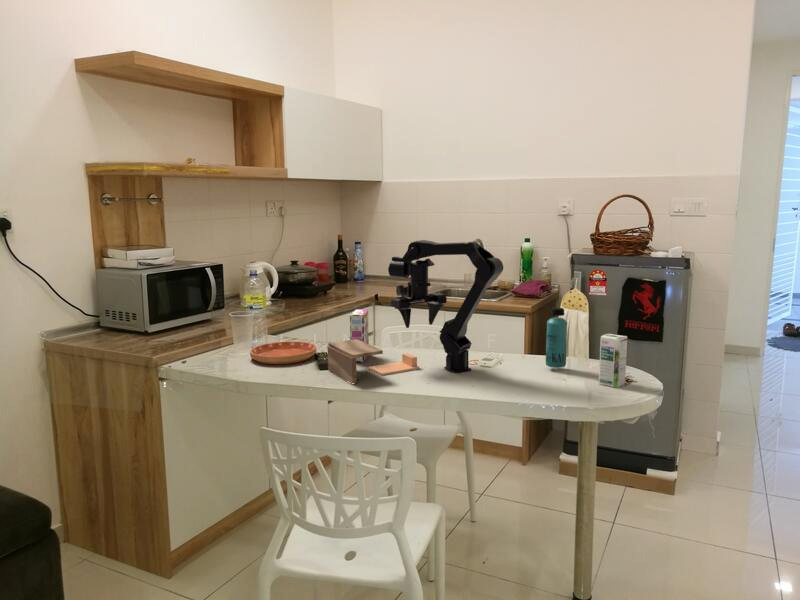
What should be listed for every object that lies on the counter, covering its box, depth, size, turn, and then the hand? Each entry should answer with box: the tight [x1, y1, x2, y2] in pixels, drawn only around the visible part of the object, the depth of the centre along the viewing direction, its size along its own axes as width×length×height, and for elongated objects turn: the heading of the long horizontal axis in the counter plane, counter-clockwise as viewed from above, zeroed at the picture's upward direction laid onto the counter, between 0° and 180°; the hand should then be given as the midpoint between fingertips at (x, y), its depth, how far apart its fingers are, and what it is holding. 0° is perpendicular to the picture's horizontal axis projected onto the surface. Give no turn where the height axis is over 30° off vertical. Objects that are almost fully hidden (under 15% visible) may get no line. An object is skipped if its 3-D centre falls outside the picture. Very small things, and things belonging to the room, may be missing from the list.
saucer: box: [249, 340, 317, 365], centre depth 219 cm, size 23×23×4 cm
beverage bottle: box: [544, 307, 568, 369], centre depth 197 cm, size 6×7×20 cm
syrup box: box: [598, 333, 628, 389], centre depth 182 cm, size 6×6×14 cm
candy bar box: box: [349, 309, 370, 363], centre depth 215 cm, size 11×5×16 cm, turn 174°
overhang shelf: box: [326, 339, 384, 384], centre depth 196 cm, size 10×18×9 cm, turn 30°
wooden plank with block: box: [367, 352, 420, 376], centre depth 203 cm, size 14×9×4 cm, turn 120°
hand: (419, 326), depth 206 cm, fingers open, 9 cm apart
